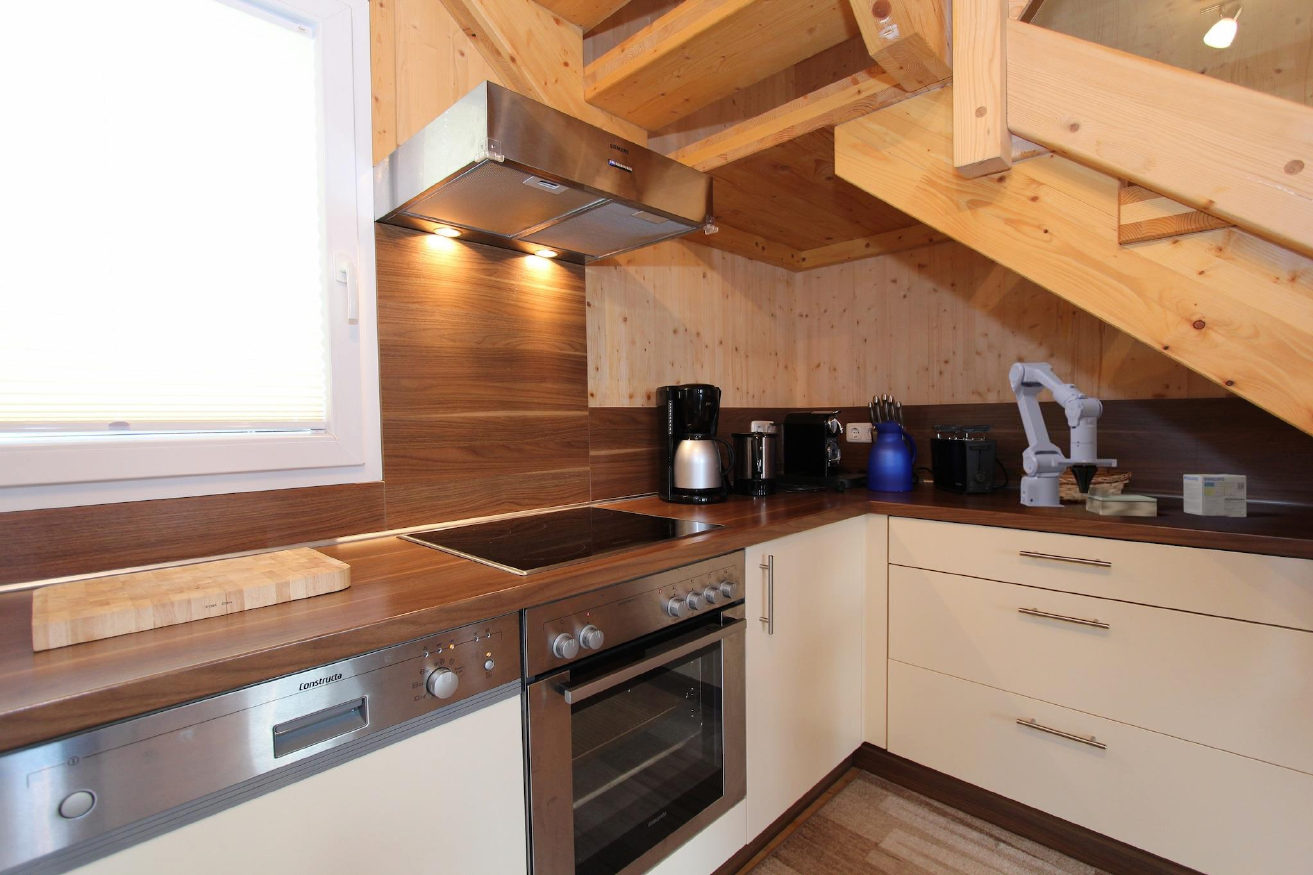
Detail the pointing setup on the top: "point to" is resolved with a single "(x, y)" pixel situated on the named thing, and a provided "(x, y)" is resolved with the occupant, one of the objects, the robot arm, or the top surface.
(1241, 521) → the top surface
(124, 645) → the top surface
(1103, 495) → the lid
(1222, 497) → the light bulb box
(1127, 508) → the pine box
